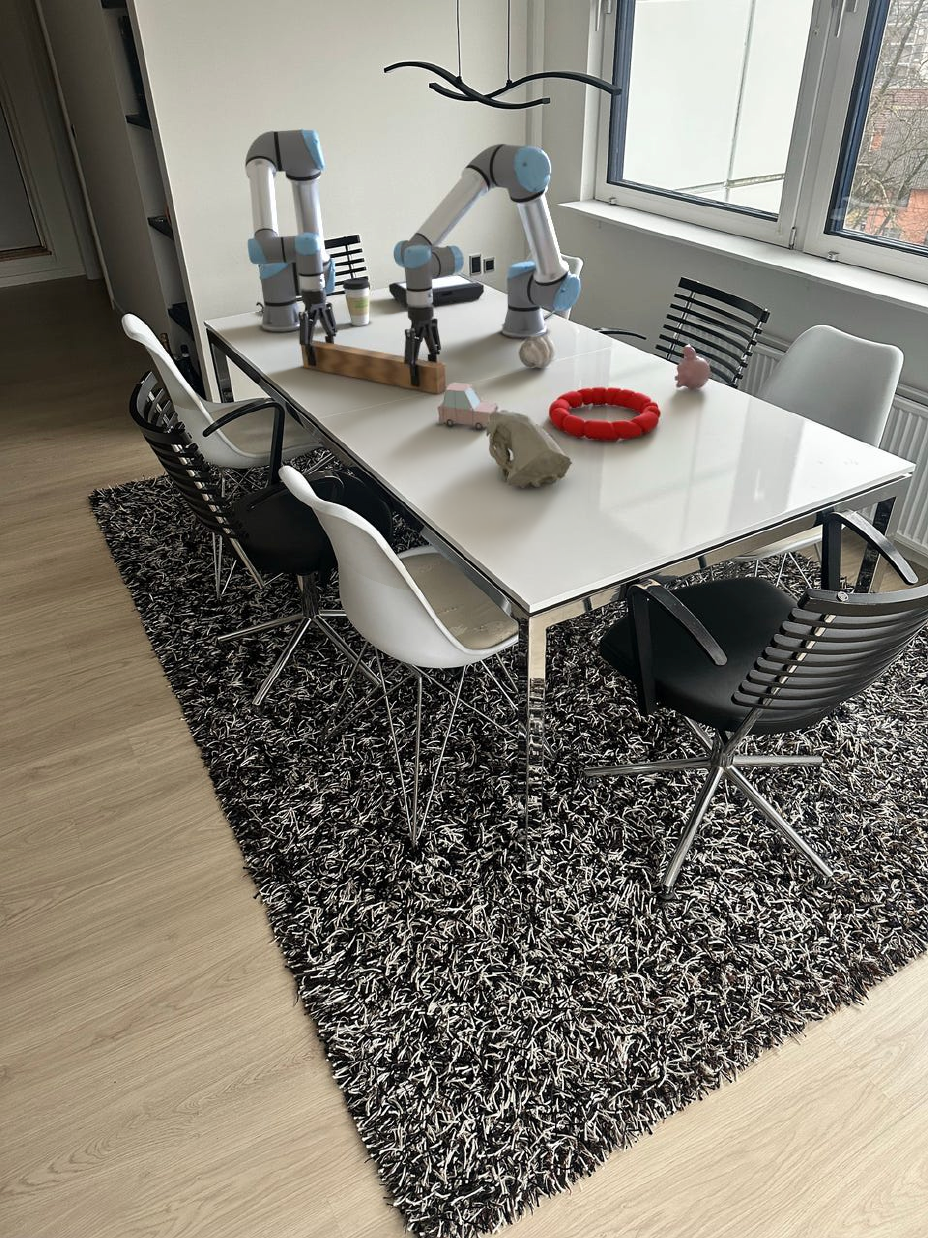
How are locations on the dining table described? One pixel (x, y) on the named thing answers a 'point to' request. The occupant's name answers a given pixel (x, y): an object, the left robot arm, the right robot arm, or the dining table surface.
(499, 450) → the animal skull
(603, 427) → the decorative ring
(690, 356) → the figurine
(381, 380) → the bar
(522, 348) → the seashell
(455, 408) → the toy car
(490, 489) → the dining table surface
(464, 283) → the electronic device
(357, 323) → the coffee cup
